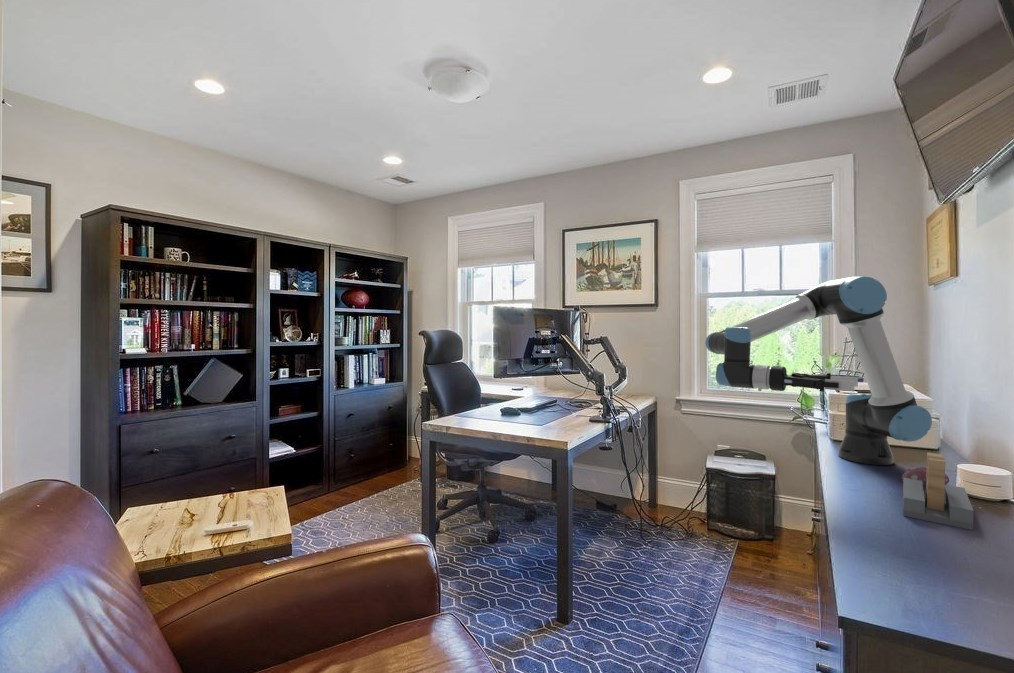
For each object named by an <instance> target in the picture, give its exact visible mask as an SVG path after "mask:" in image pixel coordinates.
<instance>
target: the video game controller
mask: <svg viewBox="0 0 1014 673" xmlns="http://www.w3.org/2000/svg"><path fill="white" fill-rule="evenodd" d="M926 470H927V466H926V467H923V466H922V467H913V466H912V467H911V466H910V468H907V469H906V470H905V471H904V473H903V474H902V477H901V481H902V482H903V481H904V478H909V479H915V480H921V481H922V484H923V486H924V484H925V482H924V479H926ZM949 483H950V477H949V476H948V475H947V474H946V473H945V485H948V484H949Z"/></svg>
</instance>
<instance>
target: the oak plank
mask: <svg viewBox="0 0 1014 673" xmlns="http://www.w3.org/2000/svg"><path fill="white" fill-rule="evenodd" d="M943 454H944V453H935V452H926V468H927V470H926V480H925V492H926V504H927V508H931V509H936V510H941V511H944V490H945V474H946V460H945V459H946V458H945V457H944V455H943Z"/></svg>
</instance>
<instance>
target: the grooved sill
mask: <svg viewBox="0 0 1014 673" xmlns="http://www.w3.org/2000/svg"><path fill="white" fill-rule="evenodd" d="M902 482H903V484H902V485H903V486H902V505H903V506H902V507H903V508H902V510H903V513H902V514H903V517H908V518H914V519H916V520H917V519H918V520H923V521H926V522H930V523H931V522H932V523H937V524H941V525H946V526H951V527H956V528H960V529H965V530H969V531H973V530H974V508H973V505H972V504H971V501H970V498H969V496H968V493H967V491H966V488H965V487H961V486H956V485H950V484H947V485H945V490H944V511H941V510H936V509H931V508H927V504H926V491H924V485H923V484H922V481H921V480H915V479H909V478H904V481H903V480H902Z"/></svg>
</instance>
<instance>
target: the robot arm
mask: <svg viewBox="0 0 1014 673" xmlns="http://www.w3.org/2000/svg"><path fill="white" fill-rule="evenodd" d="M887 299H888V295H887V291H886V288H885V286H884V285H883V284H882V283H881V282H880V281H879V280H877V279H876V278H873V277H871V276H861V275H860V276H858V275H857V276H855V275H854V276H850V277H849V276H848V277H845V278H840V279H838V278H837V279H832V280H828V281H826V282H823V283H820V284H819V285H816V286H815V287H813V288H809V289H808V290H806V291H804V292H802V293H799V294H798V295H796V296H795V299H793V300H790V301H788V302H786V303H784V304H782V305H780V306H779V305H778V306H777V307H775V308H772V309H770V310H768V311H765V312H763V313H760V314H758V315H756V316H754V317H751V318H749V319H747V320H744V321H742V322H739V323H737V324H735V325H733V326H729V327H726V328H725V329H723V330H721V331H715V332H712V333H709V334H708V335H707V337H706V339H705V347H706V349H707V350H708V351H709V352H711V353H713V354H716V355H724V356H723V357H724V358H723V360H724V361H723V362H720V363H718V364H717V366H716V371H715V380H716V383H717V384H718V385H719V386H723V387H724V386H725V387H731V388H741V389H742V388H743V389H754V390H755V389H756V390H757V391H758V392H761V391H762V390H766V391H768V390H769V389H770V390H771V391H777V392H785V390H786V388H787V386H789V387H793V388H804V389H805V388H807V389H813V390H814V389H815V390H819V392H825V390H832V391H833V390H834V391H844V392H845V391H846V392H855V387H856V388H857V387H858V385H859V377H858V376H842V375H832V373H831V372H827V373H826V374H810V373H809V374H808V373H799V372H792V373H791V374H788V373H787V372H788V371H787V368H786V366H781V365H780V366H778V365H772V366H770V365H767V364H766V365H765V364H764V365H762V364H751V345H752V344H751V343H753V342H755V341H757V340H759V339H760V340H761V339H762V338H764V337H767V336H770V335H772V334H773V333H776V332H778V331H781V330H783V329H785V328H788V327H790V326H792V325H795V324H797V323H800V322H802V321H804V320H808V321H812V320H815V319H816V318H819V317H822V316H823V317H825V316H829V315H830V316H831V315H836V317H837V320H838V322H839V324H840V325H842V326H845V327H846V328H847V330H848V333H849V336H850V338H851V341H852V344H853V347H854V350H855V352H856V354H857V357H858V361H859V363H860V366H861V368H862V369H861V370H862V371H863V374H864V377H865V380H866V382H867V386H868V388H869V391H870V393H849V394H848V395H846V400H845V426H844V427H845V428H844V429H845V430H844V431H845V432H844V433H845V434H844V437H843V439H842V441H841V443H840V446H839V448H838V456H839V457H840V458H842V459H844V460H848V461H849V462H855V463H859V464H865V465H874V466H889V465H893V464H894V455H893V452H892V450H891V447H890V444H889V441H888V437H889V438H891V439H893V440H896V441H904V442H910V443H911V442H916V441H919V440H921V439H923V438H924V437H926V436H927V435H928V432H929V431H930V430H931V428H932V425H933V418H932V415H931V413H930V411H929V410H928V409H926V408H924V407H923V406H921V405H918V402H917V400H916V398H915V395H914V393H912V392H911V391H908V390H907V389H906V388H905V385H904V382H903V380H902V376H901V374H900V371H899V369H898V365H897V363H896V360H895V358H894V357H895V356H894V354H893V352H892V349H891V347H890V344H889V341H888V338H887V336H886V333H885V330H884V327H883V324H882V321H881V317H882V316H883V315H884V314H885V312H884V310H883V308H884V307H885V305H886V301H887Z"/></svg>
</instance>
